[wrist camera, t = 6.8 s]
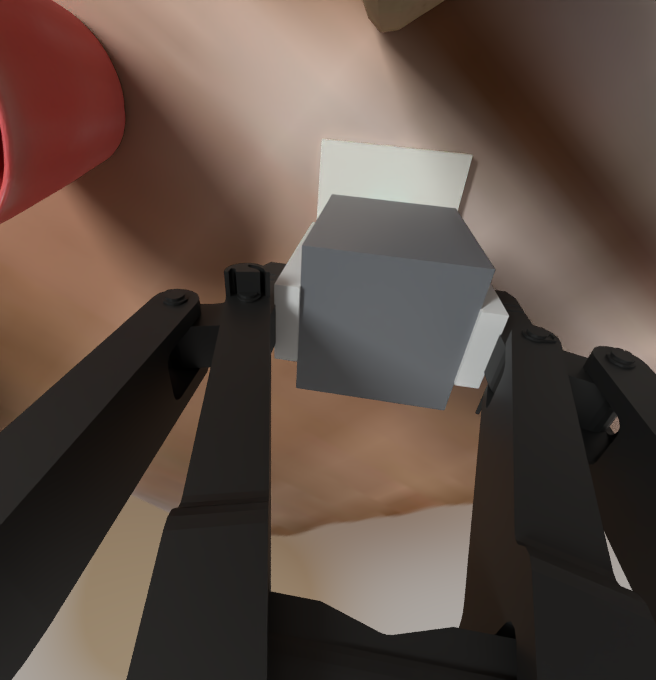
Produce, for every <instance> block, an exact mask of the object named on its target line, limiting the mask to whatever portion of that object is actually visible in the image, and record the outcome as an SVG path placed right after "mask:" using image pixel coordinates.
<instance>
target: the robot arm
mask: <svg viewBox="0 0 656 680" xmlns="http://www.w3.org/2000/svg"><path fill="white" fill-rule="evenodd" d="M314 224H315V222H312V224H311V225H310V227H309V229H308V230H307V232H306V233H305V235H304V237H303V238H302V240H301V242H300V243H299V245H298V246H297V248H296V250H295V251H294V253H293V255H292V256H291V258H290V259H289V261H288V263H287V264H282V263H274V262H270V263H268V264H266V265H264V266H262V265H259V264H253V263H240V264H235V265H231V266H229V267H227V268H226V269H225V271H224V277H225V289H226V300H225V303H219V304H200V300H199V297H198V294H196V293H195V292H193V291H189V290H182V289H174V290H172V289H170V290H167V291H165V292H161V293H159V294H157V295H156V296H154V297H153V298H152V299H151V300H149V301H148V302H147V303H146V304H145V305H144V306H143V307H141V308H140V309H139V310H138V311H137V312H136V313H135V314H134V315H132V316H131V317H130V318H129V319H128V320H127V321H126V322H125V323H123V324H122V325H121V326H120V327H119V328H118V329H117V330H115V331H114V332H113V333H112V334H111V335H110V336H109V337H108V338H106V339H105V340H104V341H103V342H102V343H101V344H100V345H99V346H97V347H96V348H95V349H94V350H93V351H92V352H91V353H89V354H88V355H87V356H86V357H85V358H84V359H83V360H82V361H80V362H79V363H78V364H77V365H76V366H75V367H74V368H73V369H71V370H70V371H69V372H68V373H67V374H66V375H65V376H63V377H62V378H61V379H60V380H59V381H58V382H57V383H56V384H54V385H53V386H52V387H51V388H50V389H49V390H48V391H47V392H45V393H44V394H43V395H42V396H41V397H40V398H39V399H37V400H36V401H35V402H34V403H33V404H32V405H31V406H30V407H28V408H27V409H26V410H25V411H24V412H23V413H22V414H21V415H19V416H18V417H17V418H16V419H15V420H14V421H13V422H11V423H10V424H9V425H8V426H7V427H6V428H5V429H4V430H2V431H1V432H0V680H12V678H13V677H14V676H15V674H16V673H17V672H18V670H19V669H20V668H21V667H22V665H23V664H24V663H25V661H26V660H27V658H28V657H29V655H30V654H31V652H32V651H33V649H34V648H35V646H36V645H37V643H38V642H39V641H40V639H41V638H42V636H43V634H44V633H45V632H46V630H47V628H48V627H49V626H50V624H51V623H52V621H53V619H54V618H55V616H56V614H57V613H58V611H59V609H60V608H61V606H62V605H63V603H64V602H65V600H66V598H67V597H68V595H69V594H70V592H71V590H72V589H73V587H74V586H75V584H76V582H77V581H78V579H79V577H80V576H81V574H82V572H83V571H84V569H85V568H86V566H87V565H88V563H89V561H90V560H91V558H92V556H93V555H94V553H95V552H96V550H97V548H98V547H99V545H100V544H101V542H102V540H103V539H104V537H105V535H106V534H107V532H108V531H109V529H110V528H111V526H112V524H113V523H114V521H115V519H116V518H117V516H118V514H119V513H120V511H121V510H122V508H123V506H124V505H125V503H126V502H127V500H128V499H129V497H130V495H131V494H132V492H133V491H134V489H135V487H136V486H137V484H138V483H139V481H140V479H141V478H142V476H143V474H144V473H145V471H146V470H147V468H148V466H149V465H150V463H151V462H152V460H153V458H154V457H155V455H156V454H157V452H158V450H159V449H160V447H161V445H162V444H163V442H164V441H165V439H166V437H167V436H168V434H169V433H170V431H171V429H172V428H173V426H174V425H175V423H176V421H177V420H178V418H179V417H180V415H181V413H182V412H183V410H184V408H185V407H186V405H187V404H188V402H189V400H190V399H191V397H192V396H193V394H194V392H195V391H196V389H197V388H198V386H199V384H200V383H201V381H202V379H203V378H204V376H205V375H206V373H207V371H208V367H211V368H210V373H209V377H208V382H207V387H206V391H205V396H204V400H203V405H202V409H201V414H200V419H199V423H198V428H197V432H196V437H195V441H194V446H193V451H192V455H191V460H190V464H189V469H188V473H187V478H186V482H185V487H184V492H183V496H182V500H181V503H180V505H179V507H178V508H174V509H172V510H171V512H170V513H169V515H168V517H167V520H166V523H165V526H164V529H163V533H162V537H161V542H160V545H159V549H158V553H157V557H156V562H155V566H154V570H153V574H152V578H151V582H150V586H149V590H148V594H147V599H146V602H145V606H144V611H143V615H142V618H141V623H140V627H139V631H138V635H137V639H136V643H135V647H134V651H133V655H132V659H131V663H130V667H129V672H128V676H127V679H126V680H656V374H655V373H654V372H653V371H652V370H651V369H650V368H649V366H648V365H647V364H645V363H644V362H643V361H642V360H641V359H639V358H638V357H636V356H634V355H632V353H630V352H628V351H626V350H625V351H623V349H620V348H613V347H607V346H599V347H595V348H594V349H593V351H592V353H591V354H590V356H589V357H588V358H586V357H583V356H580V355H576V354H573V353H569V352H566V351H564V350H562V346H561V342H560V340H559V339H558V337H556V336H555V335H554V334H553V333H551V332H549V331H547V330H545V329H543V328H540V327H537V326H534V325H532V323H531V322H530V320H529V319H528V317H527V316H526V314H525V313H524V311H523V309H522V308H521V307H520V305H519V303H518V302H517V300H516V299H515V298H514V297H513V296H511V295H510V294H508V293H507V292H505V291H498V290H494V288H493V286H492V285H491V283H490V286H489V289H488V291H487V294H486V297H485V300H484V302H483V305H482V308H481V309H480V312H479V314H478V317H477V320H476V323H475V325H474V328H473V331H472V334H471V336H470V339H469V342H468V345H467V347H466V350H465V353H464V356H463V359H462V361H461V364H460V367H459V370H458V372H457V375H456V378H455V381H454V384H455V385H458V386H464V387H471V388H478V389H479V386H480V384H481V382H482V379H483V377H484V375H485V376H486V379H487V382H488V385H487V387H486V390H485V392H484V394H483V397H482V399H481V401H480V403H479V406H478V408H477V410H476V414H479V413H480V411H481V422H480V433H479V444H478V455H477V466H476V477H475V488H474V500H473V511H472V522H471V533H470V545H469V555H468V566H467V578H466V589H465V600H464V609H463V615H462V619H461V623H460V626H459V628H456V627H451V628H443V629H435V630H428V631H421V632H412V633H405V634H397V635H386V634H382V633H380V632H378V631H376V630H374V629H372V628H370V627H368V626H367V625H365V624H363V623H361V622H359V621H357V620H355V619H353V618H351V617H350V616H348V615H346V614H344V613H342V612H340V611H338V610H336V609H334V608H332V607H331V606H329V605H327V604H325V603H323V602H321V601H317V600H311V599H307V598H301V597H296V596H291V595H286V594H281V593H276V592H271V352H272V350H273V348H274V346H275V358H276V359H283V360H289V361H296V362H297V359H298V340H299V316H300V291H301V285H300V282H301V257H302V244H303V243H304V241H305V239H306V238H307V236H308V234H309V232H310V231H311V229H312V227H313V226H314ZM617 416H618V419H619V422H620V429H619V431H618V432H617V433H616V434H614V433H613V431H612V430H611V428H610V427H609V426H610V425H611V424H612V422H613V421H614V420H615V418H616V417H617ZM604 532H605V534H606V536H607V538H608V540H609V542H610V545H611V547H612V549H613V551H614V553H615V555H616V557H617V559H618V561H619V563H620V565H621V567H622V570H623V572H624V574H625V576H626V578H627V580H628V582H629V584H630V586H631V588H632V590H633V591H631V590H629V589H626V588H624V587H621V586H620V585H619V584H618V582H617V581H616V579H615V576H614V573H613V569H612V565H611V561H610V556H609V552H608V547H607V543H606V539H605V534H604Z"/></svg>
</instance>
